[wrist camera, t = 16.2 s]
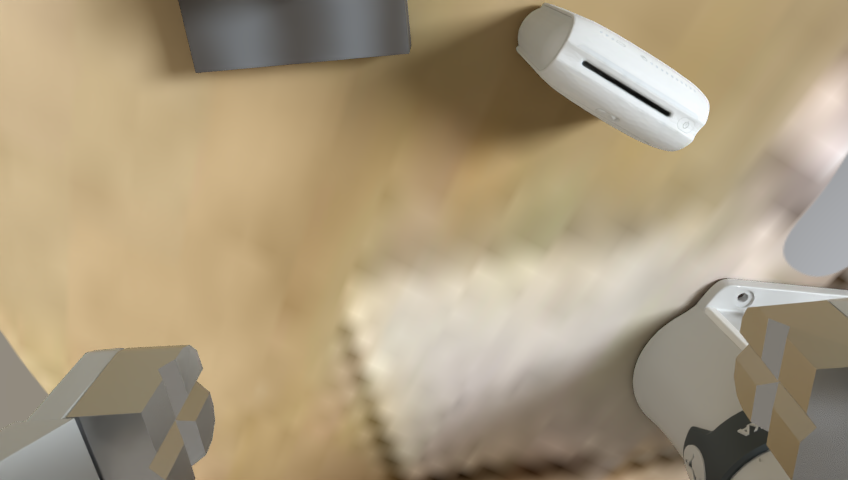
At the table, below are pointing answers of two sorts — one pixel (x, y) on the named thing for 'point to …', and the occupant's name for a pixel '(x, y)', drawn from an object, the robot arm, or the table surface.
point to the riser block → (292, 31)
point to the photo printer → (612, 78)
